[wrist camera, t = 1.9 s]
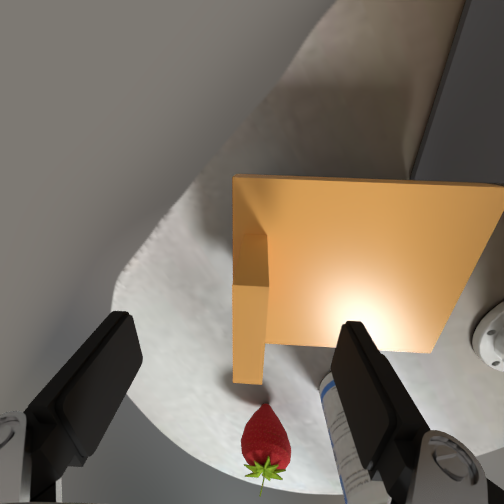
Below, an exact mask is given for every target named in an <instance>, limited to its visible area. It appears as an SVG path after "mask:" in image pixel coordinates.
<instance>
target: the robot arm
mask: <svg viewBox="0 0 504 504" xmlns="http://www.w3.org/2000/svg"><path fill="white" fill-rule="evenodd" d="M472 344H473V349H474V351H475V353H476V355H477V356H478V357H479V358H480V359H481V360H482V361H483V362H484V363H485V364H486V365H488V366H489V367H491V368H493V369H496V370H498V371H503V372H504V301H503V302H502V303H500V304H499V305H497V306H496V307H495V308H493V309H492V310H491V311H490V312H488V314H487V315H486V316H485V317H484V318H483V319H482V320H481V322H480V323H479V325H478V326H477V328H476V330H475V332H474V335H473V342H472ZM142 361H143V356H142V352H141V348H140V344H139V340H138V336H137V332H136V328H135V324H134V320H133V317H132V315H129V313H128V312H126V311H113V312H111V313H110V314H109V315H108V317H107V318H106V319H105V320H104V321H103V322H102V323H101V324H100V326H99V327H98V328H97V329H96V330H95V331H94V332H93V333H92V335H91V336H90V337H89V338H88V339H87V340H86V341H85V342H84V344H83V345H82V346H81V347H80V348H79V349H78V350H77V352H75V354H74V355H73V356H72V357H71V358H70V359H69V360H68V361H67V363H66V364H65V365H64V366H63V367H62V368H61V369H60V370H59V372H58V373H57V374H56V375H55V376H54V377H53V378H52V380H51V381H50V382H49V383H48V384H47V385H46V386H45V387H44V388H43V390H42V391H41V392H40V393H39V394H38V395H37V396H36V397H35V399H34V400H33V401H32V402H31V403H30V404H29V406H28V408H27V409H26V410H25V411H24V412H20V411H11V412H6V413H4V414H1V415H0V504H93V503H62V481H61V477H62V475H63V473H64V472H65V470H66V468H67V467H68V466H76V467H83V465H84V463H85V461H86V460H87V458H88V456H91V455H92V454H93V453H94V452H95V450H96V449H97V447H98V445H99V443H100V441H101V439H102V438H103V436H104V434H105V432H106V430H107V428H108V426H109V424H110V423H111V421H112V419H113V417H114V415H115V413H116V411H117V409H118V408H119V406H120V404H121V402H122V400H123V398H124V396H125V395H126V393H127V391H128V389H129V387H130V385H131V383H132V382H133V380H134V378H135V376H136V374H137V372H138V370H139V368H140V367H141V364H142ZM331 373H332V376H333V379H334V382H335V385H336V388H337V391H338V395H339V398H340V401H341V404H342V407H343V410H344V413H345V416H346V419H347V422H348V425H349V428H350V432H351V435H352V438H353V441H354V444H355V447H356V450H357V453H358V456H359V459H360V462H361V465H362V467H363V468H364V469H365V470H368V473H369V476H370V479H371V481H383V484H384V486H385V489H386V492H387V494H388V495H389V497H388V502H387V504H504V490H502V489H501V488H500V487H498V486H497V485H495V484H494V483H493V482H491V481H490V480H488V479H487V478H486V476H485V472H484V470H483V468H482V466H481V464H480V463H479V461H478V460H477V459H476V457H475V456H474V455H473V453H472V452H471V451H470V450H469V449H468V448H467V447H466V446H465V445H464V444H462V443H461V442H460V441H458V440H457V439H456V438H454V437H453V436H451V435H449V434H447V433H445V432H441V431H437V430H430V428H429V426H428V425H427V423H426V422H425V420H424V418H423V417H422V415H421V413H420V412H419V410H418V408H417V407H416V405H415V403H414V402H413V400H412V399H411V397H410V395H409V394H408V392H407V390H406V389H405V387H404V385H403V384H402V382H401V380H400V379H399V377H398V376H397V374H396V372H395V371H394V369H393V367H392V366H391V364H390V362H389V361H388V359H387V358H386V357H385V356H384V355H383V354H381V353H380V351H379V350H378V348H377V346H376V345H375V343H374V341H373V340H372V338H371V336H370V334H369V333H368V331H367V329H366V328H365V326H364V324H363V323H362V322H361V321H346V323H345V324H342V326H341V330H340V334H339V337H338V341H337V345H336V349H335V352H334V356H333V360H332V364H331Z"/></svg>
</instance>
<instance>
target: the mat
mask: <svg viewBox="0 0 504 504" xmlns="http://www.w3.org/2000/svg"><path fill="white" fill-rule="evenodd" d="M410 179H411V180H425V181H452V182H478V183H504V0H466V2H465V6H464V9H463V12H462V15H461V18H460V22H459V25H458V28H457V31H456V34H455V37H454V41H453V44H452V47H451V50H450V53H449V57H448V60H447V63H446V66H445V69H444V72H443V76H442V79H441V82H440V85H439V88H438V92H437V95H436V98H435V101H434V104H433V107H432V111H431V114H430V117H429V120H428V123H427V127H426V130H425V133H424V136H423V139H422V142H421V146H420V149H419V152H418V155H417V158H416V162H415V165H414V168H413V171H412V174H411V177H410Z"/></svg>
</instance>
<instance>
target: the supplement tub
mask: <svg viewBox="0 0 504 504" xmlns="http://www.w3.org/2000/svg"><path fill="white" fill-rule="evenodd" d="M319 393H320V398H321V403H322V407H323V411H324V415H325V419H326V424H327V428H328V432H329V436H330V440H331V445H332V449H333V453H334V457H335V461H336V465H337V470H338V474H339V478H340V482H341V486H342V490H343V494H344V499H345V503H346V504H387V502H388V497H389V495H388V494H387V492H386V489H385V486H384V484H383V481H371V479H370V476H369V473H368V470H365V469H364V468H363V467H362V465H361V462H360V459H359V456H358V453H357V450H356V447H355V444H354V441H353V438H352V435H351V432H350V428H349V425H348V422H347V419H346V416H345V413H344V410H343V407H342V404H341V401H340V398H339V395H338V391H337V388H336V385H335V382H334V379H333V376H332V373H331V372H330V373H329V374H328V375H327V376H326V377H325V378H324V379H323V381H322V382H321V385H320V389H319Z"/></svg>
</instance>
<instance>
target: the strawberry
mask: <svg viewBox="0 0 504 504" xmlns="http://www.w3.org/2000/svg"><path fill="white" fill-rule="evenodd" d="M241 447H242V454H243V456H244V458H245V460H246V462H247V463H248V464H249V465H245V464H244V466H246V467H247V468H248V469H250V470H251V471H252V472H253V473H250V474H248V475H245V477H257V478H258V477H259V476H260V474H261V473H262V472H263V473H262V476H263V483H264V477H265V478H266V479H268V480H269V481H270V478H273V479H279V480H282V478H281V477H280V476H279V475H278V474H276V473H280V472H283V471H286V470H285V469H286V467H287V466H288V464H289V463H290V458H291V446H290V443H289V440H288V436H287V433H286V431H285V429H284V427H283V426H282V424H281V422H280V420H279V418H278V417H277V416H276V414H275V413H274V411H273V410H272V408H271V406H270V405H269V404H266V403H265V404H263V405H262V406H261V407H260V408H259V409H258V410H257V411H256V412H255V413H254V414H253V416H252V417H251V418H250V420H249V421H248V422H247V424H246V426H245V429H244V432H243V435H242V438H241ZM263 483H262V487H263ZM261 492H262V488H261ZM261 492H260V496H261Z"/></svg>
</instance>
